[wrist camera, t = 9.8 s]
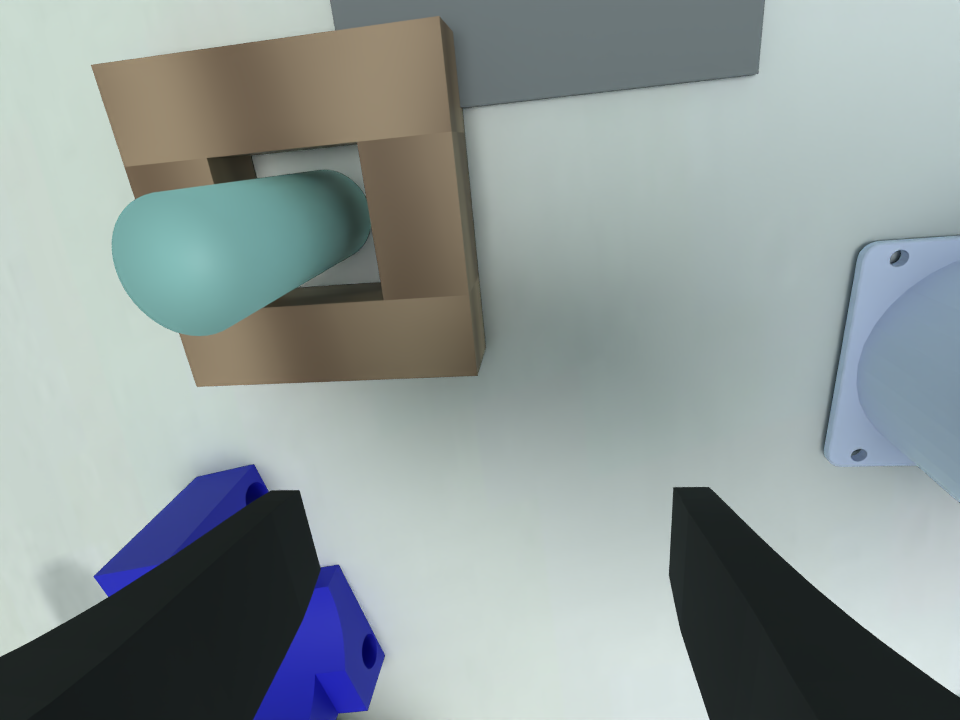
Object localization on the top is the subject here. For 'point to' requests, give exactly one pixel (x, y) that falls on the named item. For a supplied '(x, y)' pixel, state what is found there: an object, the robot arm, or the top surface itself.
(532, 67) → the mat
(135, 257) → the peg
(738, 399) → the top surface
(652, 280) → the top surface
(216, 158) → the socket block
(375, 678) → the cable clip
